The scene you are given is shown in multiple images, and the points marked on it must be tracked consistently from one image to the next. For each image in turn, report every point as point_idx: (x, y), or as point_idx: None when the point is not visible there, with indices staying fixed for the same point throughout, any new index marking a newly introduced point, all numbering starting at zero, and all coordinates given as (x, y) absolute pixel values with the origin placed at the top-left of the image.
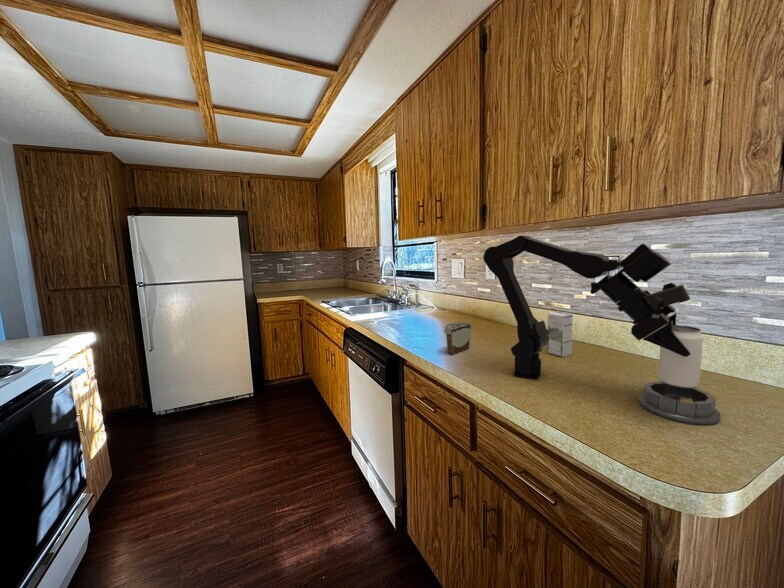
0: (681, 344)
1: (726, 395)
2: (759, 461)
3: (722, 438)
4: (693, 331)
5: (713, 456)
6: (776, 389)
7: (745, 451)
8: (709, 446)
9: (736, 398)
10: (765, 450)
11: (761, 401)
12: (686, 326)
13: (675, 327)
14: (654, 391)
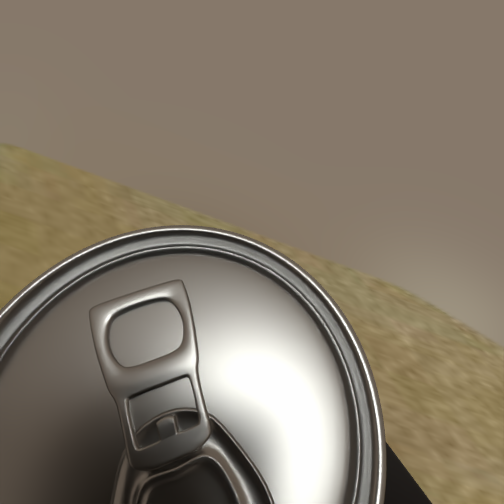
0: (413, 481)
1: (67, 250)
2: (449, 327)
3: (373, 360)
4: (349, 328)
5: (497, 418)
6: (11, 145)
7: (416, 336)
8: (444, 408)
9: (86, 237)
10: (384, 295)
11: (96, 198)
12: (18, 309)
13: (16, 465)
14: None
